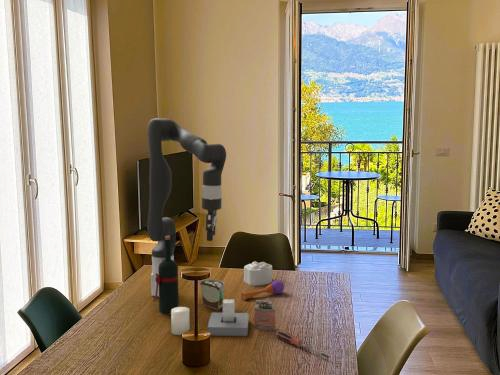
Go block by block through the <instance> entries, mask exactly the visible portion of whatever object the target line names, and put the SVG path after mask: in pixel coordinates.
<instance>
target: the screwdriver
mask: <svg viewBox="0 0 500 375" xmlns="http://www.w3.org/2000/svg"><path fill="white" fill-rule="evenodd" d="M275 335H276V337H277V338H279V339H280V340H281V341H283V342H286V343H289V344H291V345H295V346H296V347H297V348H301V347H303V348H306V349H308V350H310V351H312V352H314V353H316V354H318V355H319V356H320V355H321V356H323V357H325V358H327V359H330V358H331V356H329V355H327V354H326V353H323V352H322V351H319V350H317V349H315V348H312V347H311V346H309V345H307V344H305V343H304V342H303V340H302V339H298V338H296V337H295V336H294V335H292V334H290V332H286V331H282V330H277V331H276V333H275Z"/></svg>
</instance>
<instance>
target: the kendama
mask: <svg viewBox="0 0 500 375" xmlns="http://www.w3.org/2000/svg"><path fill="white" fill-rule="evenodd" d="M284 290H285V285H284V283H283V282H282V281H281V280H272V282H271V283H269V284H267V285H266V287H265V288H263V289H258V290H252V291H244V292H241V294H240V297H241V300H243V301H246V300H249V299H252V298H253V297H256V296H258V295H261V294H263V293H265V294H266V293H267V294H270V295H273V294H274V295H280V294H282V293H283V291H284Z"/></svg>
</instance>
